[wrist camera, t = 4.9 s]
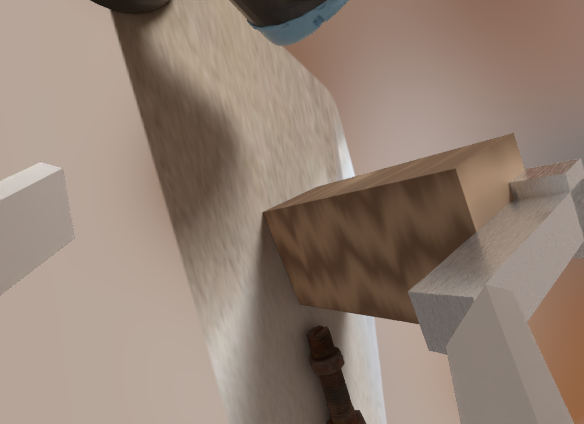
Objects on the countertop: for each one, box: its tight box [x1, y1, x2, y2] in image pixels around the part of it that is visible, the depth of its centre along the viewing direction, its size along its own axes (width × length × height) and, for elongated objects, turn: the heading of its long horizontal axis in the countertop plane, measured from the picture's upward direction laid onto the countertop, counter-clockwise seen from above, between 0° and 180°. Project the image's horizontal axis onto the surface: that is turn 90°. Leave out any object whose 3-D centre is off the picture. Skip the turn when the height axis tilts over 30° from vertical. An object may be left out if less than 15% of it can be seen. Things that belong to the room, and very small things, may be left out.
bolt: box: [307, 326, 366, 424], centre depth 50 cm, size 6×5×15 cm
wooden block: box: [263, 133, 524, 324], centre depth 41 cm, size 14×10×28 cm
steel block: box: [408, 158, 584, 355], centre depth 26 cm, size 7×20×4 cm, turn 116°
